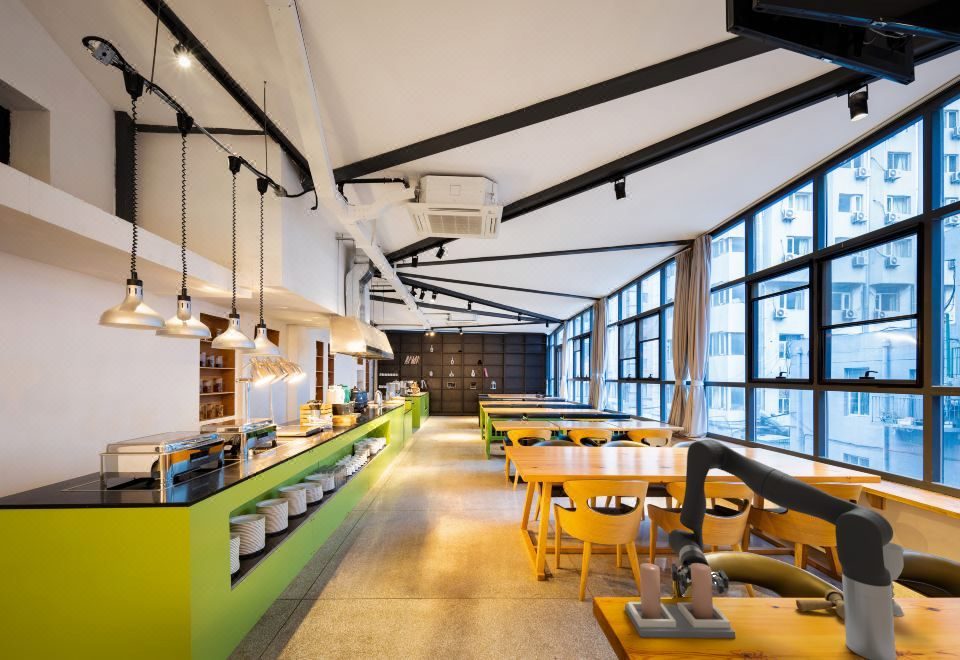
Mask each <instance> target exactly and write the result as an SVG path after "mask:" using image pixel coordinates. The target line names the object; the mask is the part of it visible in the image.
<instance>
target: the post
mask: <svg viewBox="0 0 960 660" xmlns="http://www.w3.org/2000/svg"><path fill="white" fill-rule="evenodd" d="M711 570H712V567H710V565H709V566H707V565H705V564H701V563H693V564H691V582H690V583H691V603H692V610H693V617H694V618H695V619H713V605H714V603H713V586H712V579H711Z"/></svg>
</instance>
